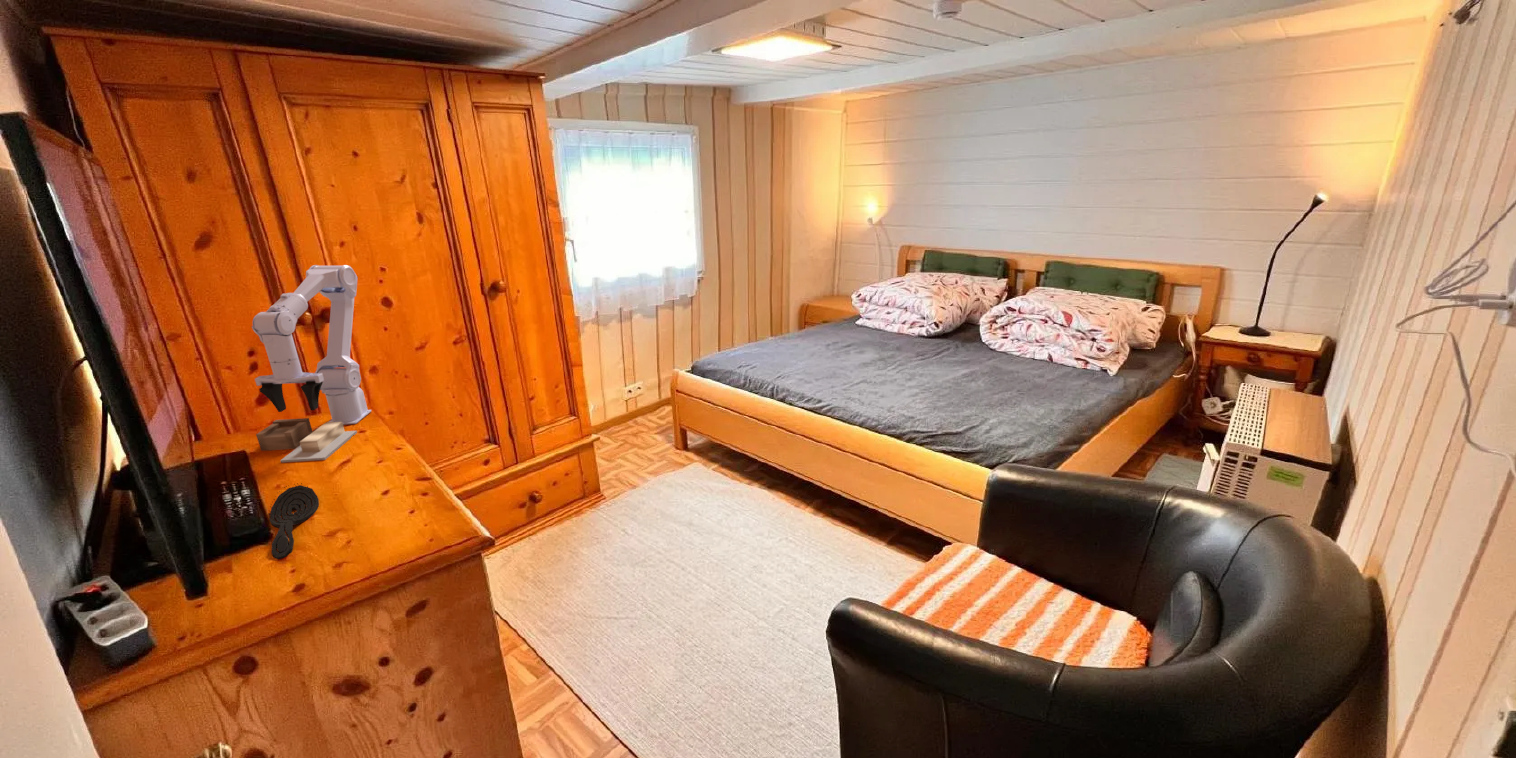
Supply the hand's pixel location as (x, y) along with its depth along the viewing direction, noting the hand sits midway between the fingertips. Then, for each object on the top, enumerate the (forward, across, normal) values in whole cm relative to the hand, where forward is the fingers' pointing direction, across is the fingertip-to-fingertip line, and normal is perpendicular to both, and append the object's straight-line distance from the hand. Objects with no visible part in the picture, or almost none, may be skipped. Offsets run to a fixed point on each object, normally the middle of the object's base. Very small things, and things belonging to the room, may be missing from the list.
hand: (298, 409), depth 150 cm
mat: (+10, +4, -2) cm, 11 cm away
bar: (+9, +4, 0) cm, 10 cm away
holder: (+10, -6, +2) cm, 12 cm away
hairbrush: (+11, +18, -40) cm, 45 cm away
